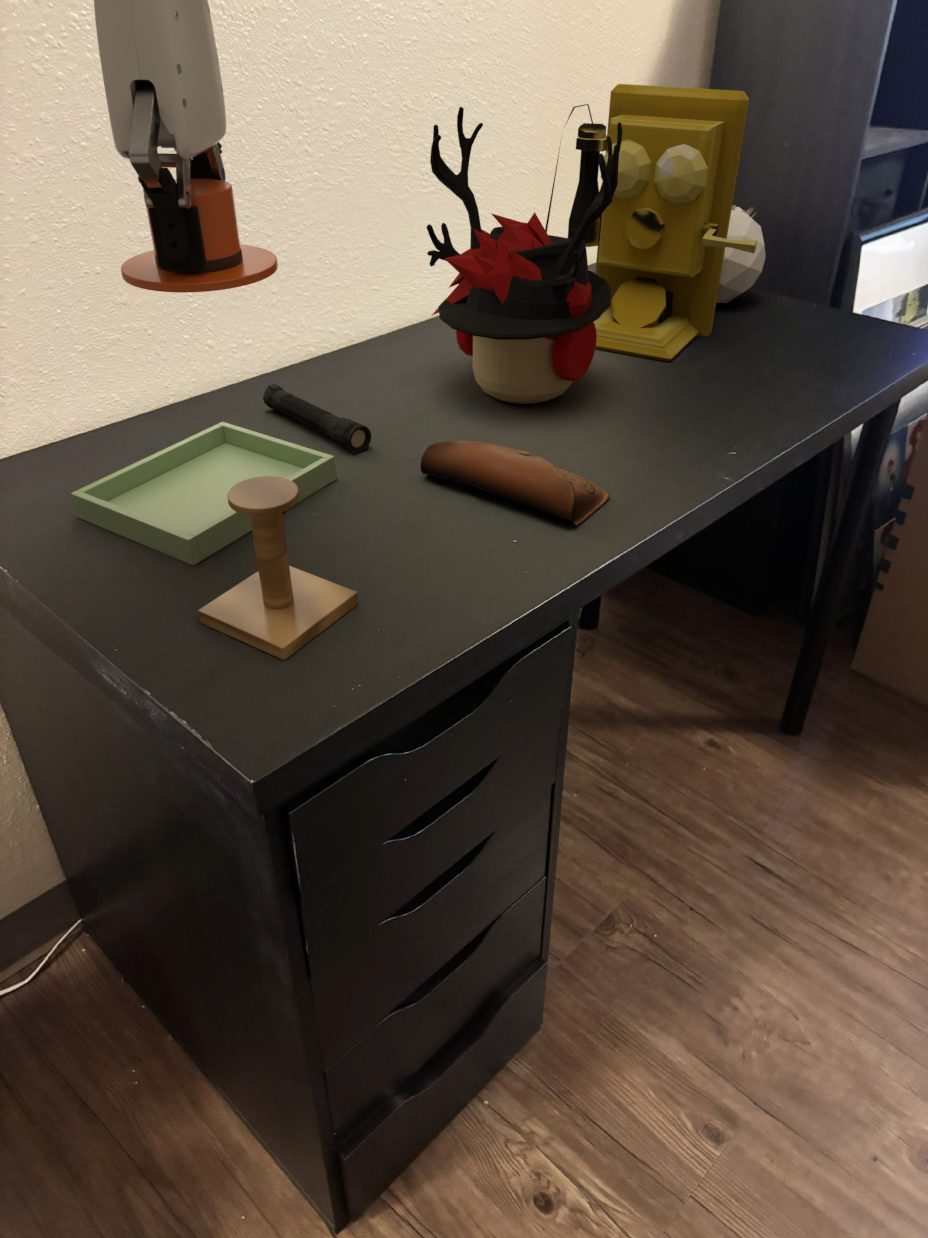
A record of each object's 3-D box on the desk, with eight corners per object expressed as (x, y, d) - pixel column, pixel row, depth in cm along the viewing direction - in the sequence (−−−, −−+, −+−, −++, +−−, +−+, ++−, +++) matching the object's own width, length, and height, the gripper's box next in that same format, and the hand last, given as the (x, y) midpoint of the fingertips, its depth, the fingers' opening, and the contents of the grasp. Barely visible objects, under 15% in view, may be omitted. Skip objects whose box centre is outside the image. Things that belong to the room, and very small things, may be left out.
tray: (193, 565, 79) (188, 540, 78) (77, 517, 86) (70, 493, 85) (336, 479, 93) (334, 455, 91) (226, 443, 100) (222, 421, 98)
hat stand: (284, 661, 69) (266, 534, 62) (199, 622, 73) (174, 500, 66) (358, 603, 75) (349, 483, 68) (276, 571, 79) (260, 454, 72)
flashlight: (350, 456, 97) (348, 430, 95) (263, 411, 107) (260, 387, 105) (372, 448, 99) (370, 422, 97) (284, 404, 108) (281, 380, 106)
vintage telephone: (504, 332, 129) (511, 90, 112) (545, 306, 139) (557, 79, 122) (720, 372, 117) (767, 106, 100) (749, 340, 127) (795, 93, 109)
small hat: (197, 302, 60) (181, 210, 57) (89, 275, 65) (69, 190, 62) (309, 264, 67) (301, 182, 64) (204, 243, 72) (192, 166, 69)
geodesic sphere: (741, 242, 148) (710, 169, 138) (804, 263, 137) (775, 186, 128) (674, 308, 149) (638, 241, 139) (732, 334, 138) (697, 263, 129)
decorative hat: (644, 387, 113) (677, 112, 95) (555, 446, 99) (575, 138, 81) (493, 349, 124) (498, 96, 106) (394, 398, 110) (380, 117, 92)
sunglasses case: (615, 491, 90) (604, 449, 84) (582, 548, 88) (569, 510, 82) (466, 445, 98) (447, 405, 92) (433, 497, 96) (411, 459, 90)
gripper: (137, -54, 62) (184, 226, 73) (22, -58, 48) (101, 289, 59) (245, -54, 62) (277, 227, 72) (160, -58, 48) (215, 291, 58)
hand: (198, 252), depth 65 cm, fingers closed on small hat, 6 cm apart
